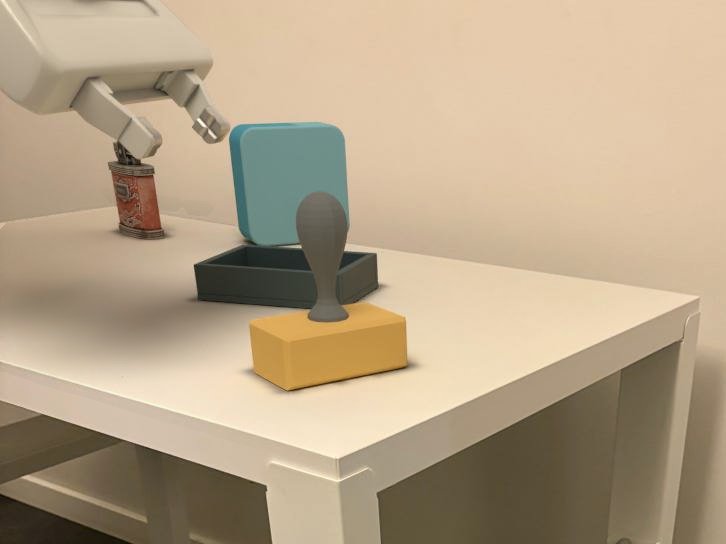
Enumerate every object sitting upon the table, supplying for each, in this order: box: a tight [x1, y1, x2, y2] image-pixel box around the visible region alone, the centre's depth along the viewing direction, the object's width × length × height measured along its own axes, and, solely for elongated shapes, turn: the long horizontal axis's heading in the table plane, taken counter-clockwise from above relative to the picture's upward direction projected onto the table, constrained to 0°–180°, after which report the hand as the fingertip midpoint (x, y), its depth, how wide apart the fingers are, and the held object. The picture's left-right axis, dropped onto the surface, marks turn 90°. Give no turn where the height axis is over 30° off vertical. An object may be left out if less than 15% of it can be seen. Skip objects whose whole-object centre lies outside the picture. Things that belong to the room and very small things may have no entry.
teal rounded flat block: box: [228, 121, 351, 247], centre depth 111 cm, size 12×4×12 cm, turn 119°
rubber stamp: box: [248, 191, 408, 392], centre depth 69 cm, size 10×6×12 cm, turn 127°
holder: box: [193, 244, 379, 310], centre depth 91 cm, size 10×14×3 cm
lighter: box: [107, 140, 166, 240], centre depth 114 cm, size 8×3×10 cm, turn 43°
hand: (189, 143), depth 66 cm, fingers open, 8 cm apart
